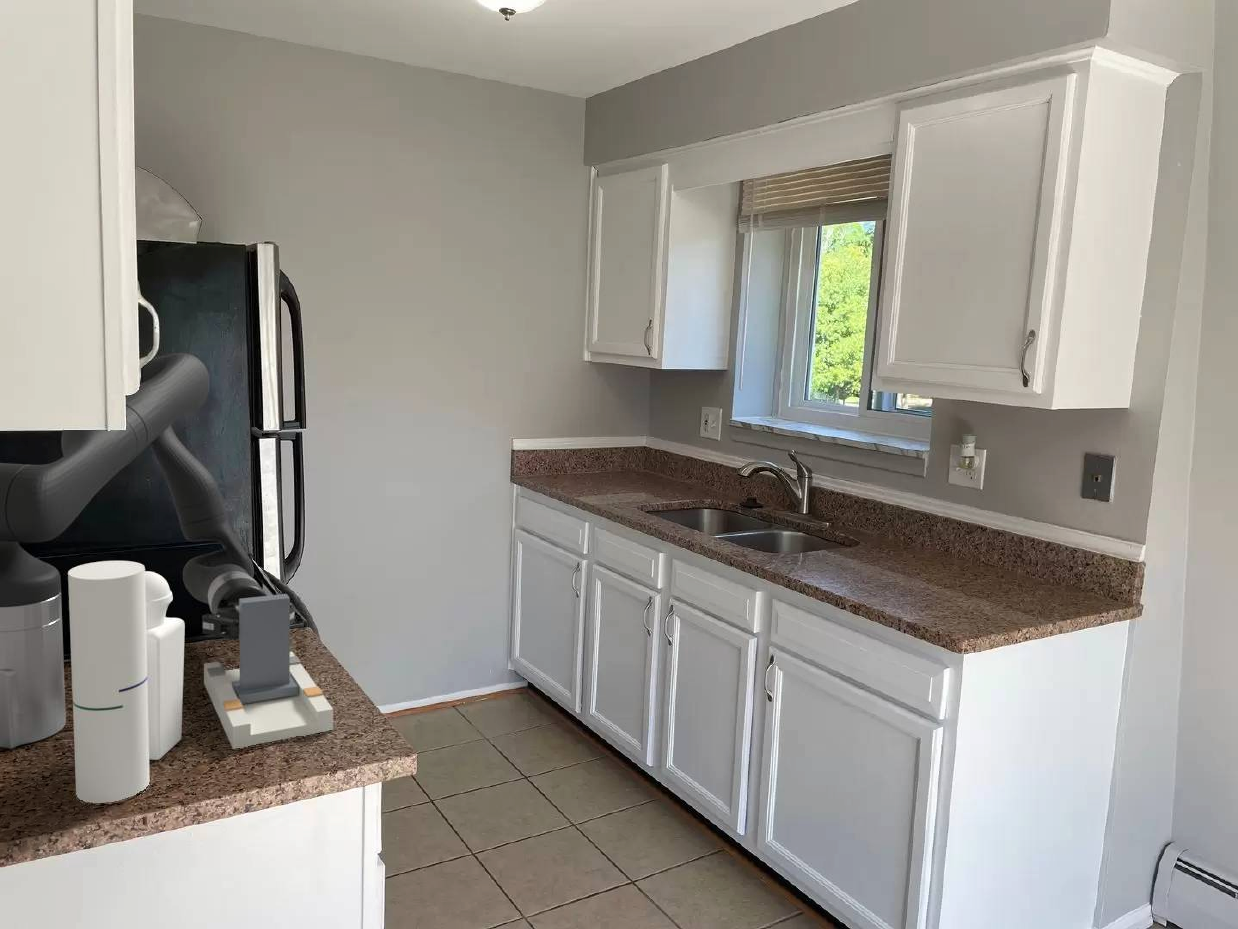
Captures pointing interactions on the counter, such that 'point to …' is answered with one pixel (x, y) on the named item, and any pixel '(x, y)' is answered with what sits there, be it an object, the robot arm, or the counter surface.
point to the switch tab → (264, 649)
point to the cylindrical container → (109, 679)
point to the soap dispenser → (163, 667)
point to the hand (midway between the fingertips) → (262, 639)
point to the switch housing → (268, 708)
